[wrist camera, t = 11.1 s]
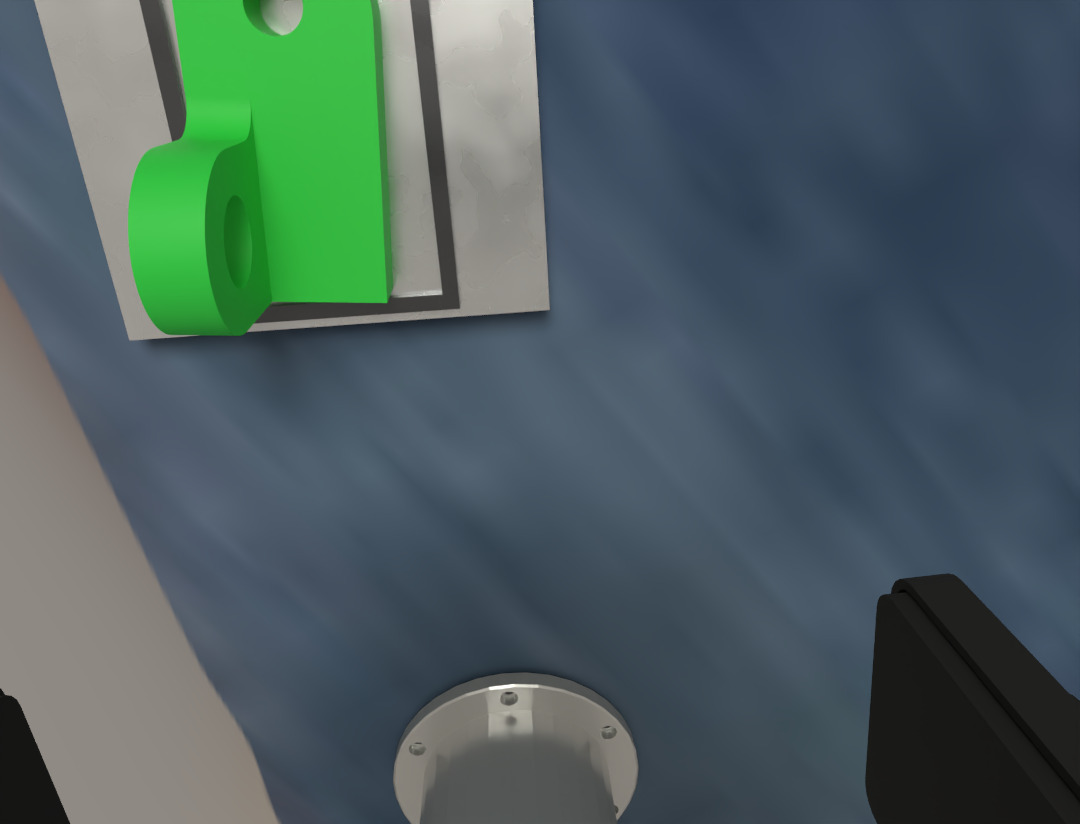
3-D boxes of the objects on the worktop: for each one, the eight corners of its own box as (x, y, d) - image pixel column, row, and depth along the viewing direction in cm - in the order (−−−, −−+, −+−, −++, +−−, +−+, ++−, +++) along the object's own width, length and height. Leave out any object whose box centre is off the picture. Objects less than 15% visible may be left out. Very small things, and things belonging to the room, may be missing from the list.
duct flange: (547, 298, 33) (550, 312, 31) (145, 327, 32) (126, 343, 31) (520, -183, 26) (522, -198, 25) (14, -155, 26) (-18, -168, 24)
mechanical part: (393, 287, 31) (363, 363, 24) (230, 285, 30) (148, 361, 23) (376, -83, 26) (331, -131, 19) (181, -90, 26) (58, -143, 18)
